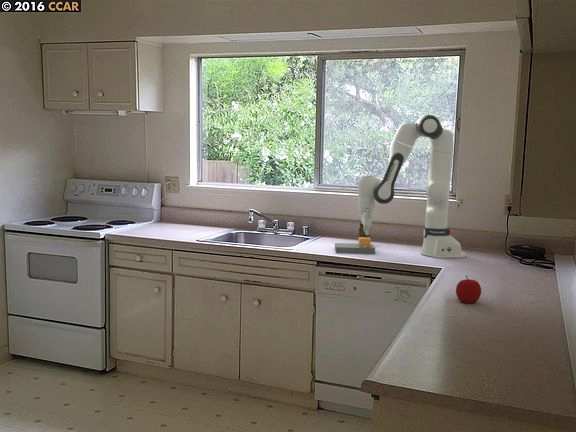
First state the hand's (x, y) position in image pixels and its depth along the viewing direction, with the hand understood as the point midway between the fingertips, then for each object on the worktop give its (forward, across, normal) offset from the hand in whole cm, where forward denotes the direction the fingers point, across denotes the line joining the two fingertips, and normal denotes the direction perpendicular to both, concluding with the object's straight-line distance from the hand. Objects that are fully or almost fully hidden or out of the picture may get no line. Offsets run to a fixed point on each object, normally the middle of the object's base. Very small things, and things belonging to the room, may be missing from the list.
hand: (366, 233), depth 322 cm
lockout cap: (+7, 0, +1) cm, 7 cm away
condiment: (+10, +19, 0) cm, 21 cm away
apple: (+11, -92, -29) cm, 97 cm away
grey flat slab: (+9, 0, +6) cm, 11 cm away
